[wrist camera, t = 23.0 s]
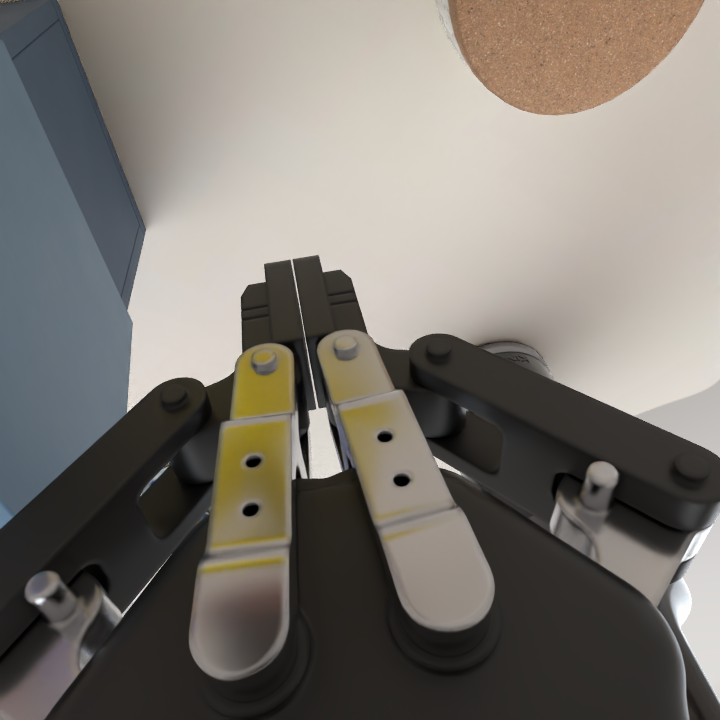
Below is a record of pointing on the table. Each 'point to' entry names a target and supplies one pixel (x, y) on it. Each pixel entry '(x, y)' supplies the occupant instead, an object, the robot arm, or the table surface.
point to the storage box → (75, 131)
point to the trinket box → (563, 46)
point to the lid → (50, 313)
